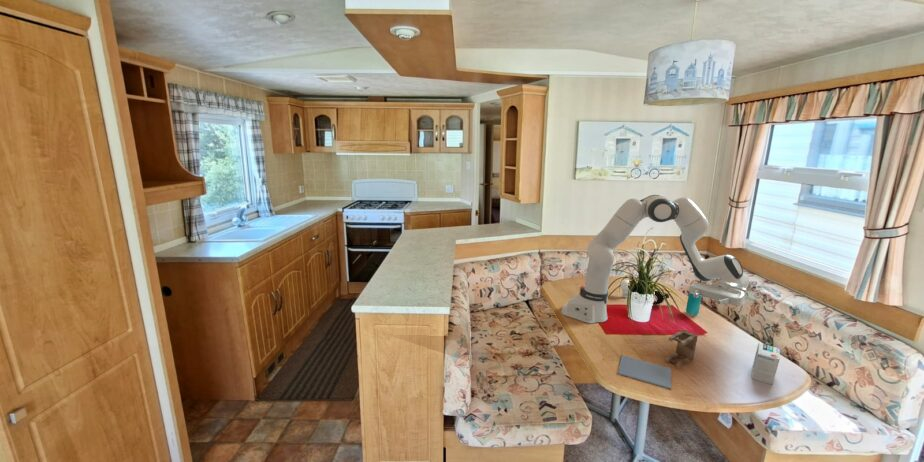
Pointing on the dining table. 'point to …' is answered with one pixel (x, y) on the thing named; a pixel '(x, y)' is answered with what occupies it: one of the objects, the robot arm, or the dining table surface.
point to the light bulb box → (765, 363)
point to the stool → (683, 347)
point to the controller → (660, 297)
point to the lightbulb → (624, 287)
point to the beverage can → (693, 305)
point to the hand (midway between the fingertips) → (706, 299)
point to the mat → (645, 371)
